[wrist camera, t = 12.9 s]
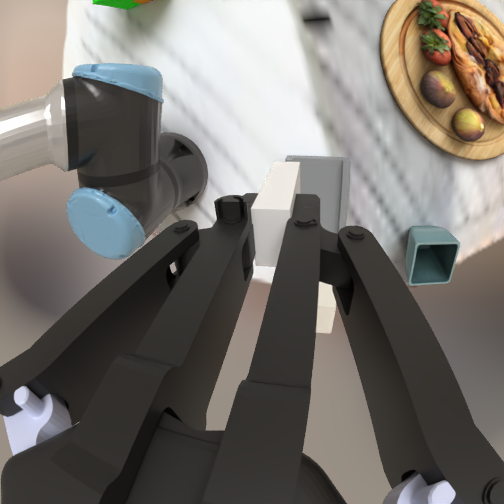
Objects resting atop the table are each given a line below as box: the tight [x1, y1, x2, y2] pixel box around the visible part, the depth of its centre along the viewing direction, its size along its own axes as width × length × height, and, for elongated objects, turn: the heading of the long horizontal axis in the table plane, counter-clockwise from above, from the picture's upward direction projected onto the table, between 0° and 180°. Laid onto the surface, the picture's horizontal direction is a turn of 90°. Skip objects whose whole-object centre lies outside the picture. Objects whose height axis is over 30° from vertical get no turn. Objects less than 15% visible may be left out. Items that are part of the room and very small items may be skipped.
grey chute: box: [286, 156, 351, 234], centre depth 48 cm, size 10×24×3 cm, turn 4°
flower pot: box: [405, 226, 460, 286], centre depth 42 cm, size 9×9×9 cm
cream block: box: [316, 282, 336, 333], centre depth 46 cm, size 7×6×15 cm
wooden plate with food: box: [380, 0, 504, 160], centre depth 24 cm, size 32×32×8 cm
